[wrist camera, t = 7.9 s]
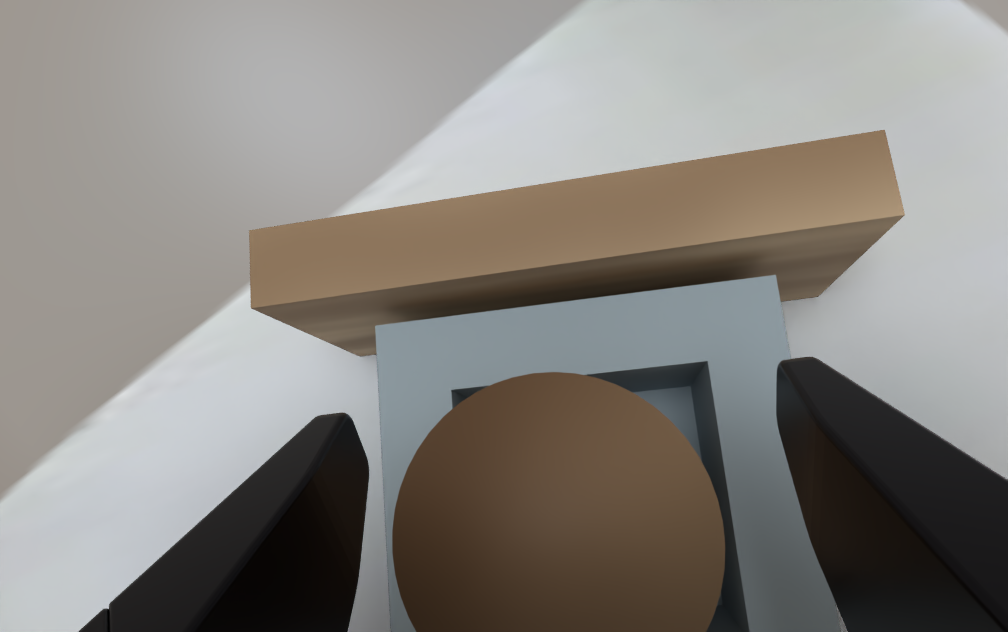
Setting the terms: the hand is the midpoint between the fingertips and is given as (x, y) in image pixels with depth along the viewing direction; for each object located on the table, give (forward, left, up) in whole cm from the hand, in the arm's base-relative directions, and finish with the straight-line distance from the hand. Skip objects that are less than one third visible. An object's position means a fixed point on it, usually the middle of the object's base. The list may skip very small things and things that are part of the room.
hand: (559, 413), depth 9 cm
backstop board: (+3, -2, -10) cm, 10 cm away
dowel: (-1, +1, -9) cm, 9 cm away
